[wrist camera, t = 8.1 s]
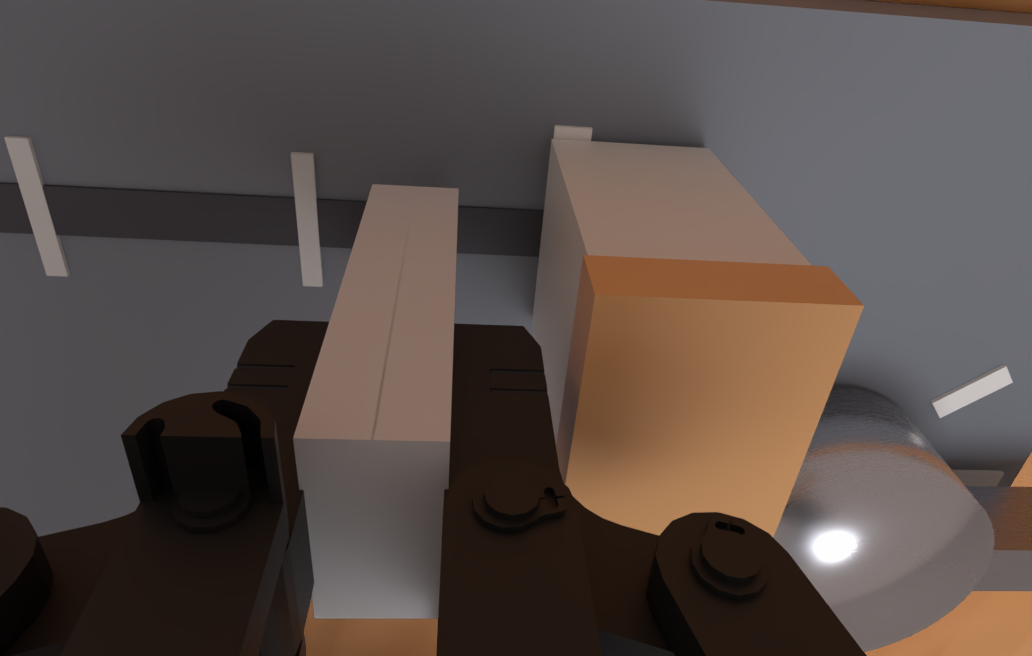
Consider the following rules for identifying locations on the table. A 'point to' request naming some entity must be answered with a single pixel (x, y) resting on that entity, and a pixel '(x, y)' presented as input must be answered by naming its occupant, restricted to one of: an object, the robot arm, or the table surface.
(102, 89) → the console
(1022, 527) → the dial
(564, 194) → the block
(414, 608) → the robot arm
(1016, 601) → the table surface
